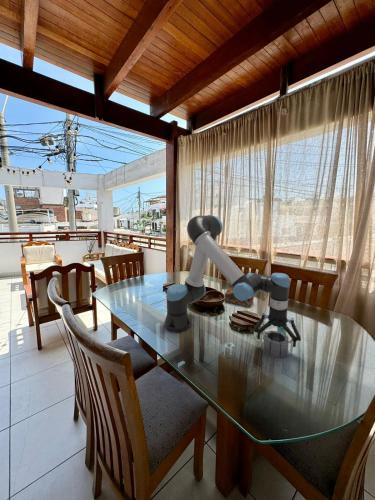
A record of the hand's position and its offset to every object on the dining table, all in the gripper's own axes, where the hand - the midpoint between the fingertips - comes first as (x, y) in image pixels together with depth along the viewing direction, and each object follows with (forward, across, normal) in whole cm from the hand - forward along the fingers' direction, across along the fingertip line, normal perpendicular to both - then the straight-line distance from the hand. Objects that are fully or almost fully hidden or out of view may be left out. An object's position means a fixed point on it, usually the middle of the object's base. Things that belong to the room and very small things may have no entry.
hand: (275, 348), depth 102 cm
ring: (+1, 0, 0) cm, 1 cm away
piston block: (+1, +2, +14) cm, 15 cm away
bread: (+1, -26, +48) cm, 54 cm away
